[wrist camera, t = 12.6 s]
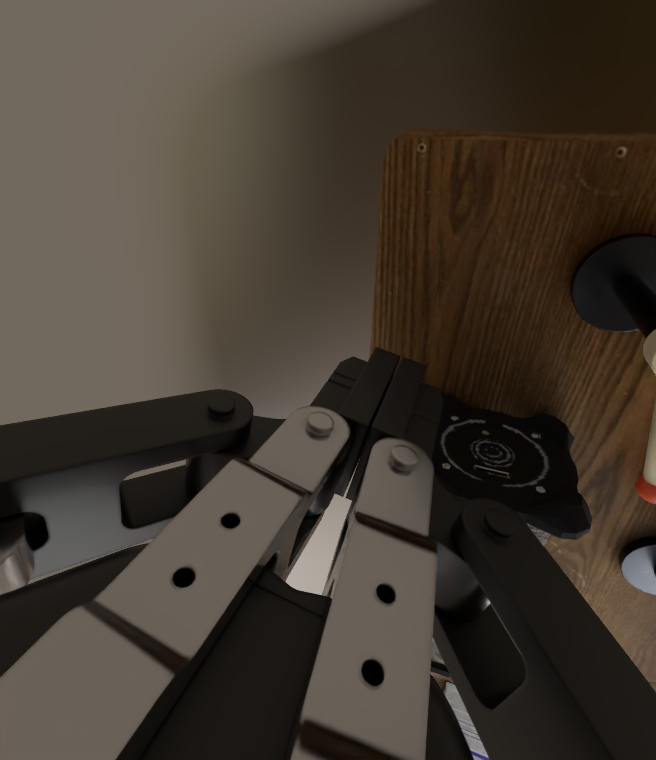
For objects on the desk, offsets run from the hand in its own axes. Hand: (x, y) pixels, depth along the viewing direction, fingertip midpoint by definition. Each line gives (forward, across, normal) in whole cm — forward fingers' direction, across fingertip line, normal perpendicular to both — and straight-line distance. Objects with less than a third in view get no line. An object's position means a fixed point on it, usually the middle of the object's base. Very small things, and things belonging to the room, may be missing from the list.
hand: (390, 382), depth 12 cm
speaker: (+31, -13, +30) cm, 45 cm away
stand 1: (+31, -14, +2) cm, 34 cm away
